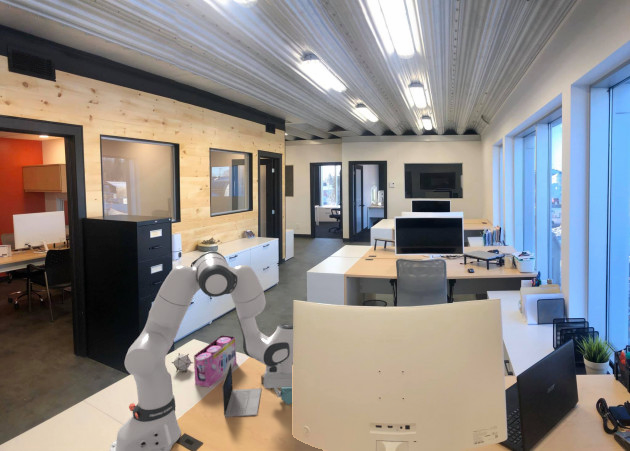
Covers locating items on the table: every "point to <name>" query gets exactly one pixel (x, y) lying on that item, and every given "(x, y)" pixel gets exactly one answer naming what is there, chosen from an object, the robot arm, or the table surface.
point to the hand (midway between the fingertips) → (289, 395)
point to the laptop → (239, 399)
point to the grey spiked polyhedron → (182, 362)
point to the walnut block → (263, 381)
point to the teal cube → (286, 394)
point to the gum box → (214, 360)
